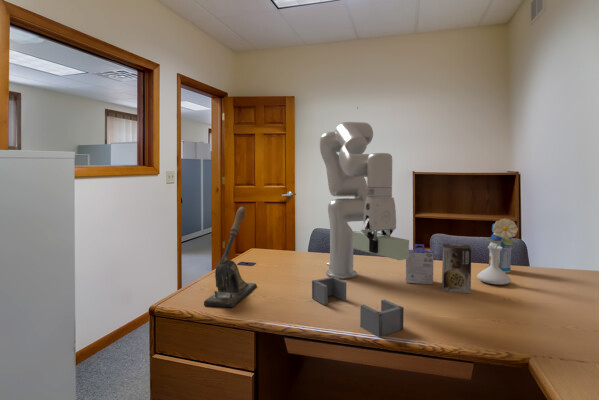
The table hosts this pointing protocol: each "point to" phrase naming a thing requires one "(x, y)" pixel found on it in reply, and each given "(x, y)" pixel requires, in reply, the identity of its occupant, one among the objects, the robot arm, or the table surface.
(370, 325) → the cap fixed
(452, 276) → the coffee box
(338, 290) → the cap sliding
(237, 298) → the embossing press
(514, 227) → the flower in vase
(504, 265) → the beverage bottle
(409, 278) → the ink cartridge box
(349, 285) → the table surface
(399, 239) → the pale green long block
